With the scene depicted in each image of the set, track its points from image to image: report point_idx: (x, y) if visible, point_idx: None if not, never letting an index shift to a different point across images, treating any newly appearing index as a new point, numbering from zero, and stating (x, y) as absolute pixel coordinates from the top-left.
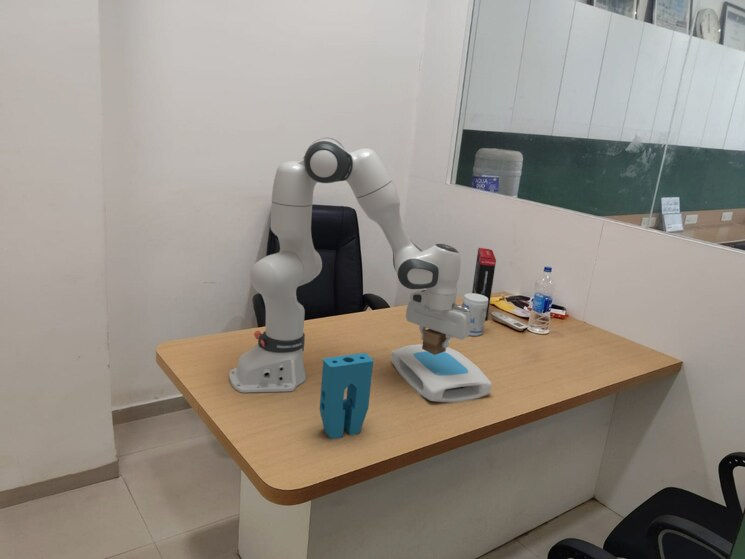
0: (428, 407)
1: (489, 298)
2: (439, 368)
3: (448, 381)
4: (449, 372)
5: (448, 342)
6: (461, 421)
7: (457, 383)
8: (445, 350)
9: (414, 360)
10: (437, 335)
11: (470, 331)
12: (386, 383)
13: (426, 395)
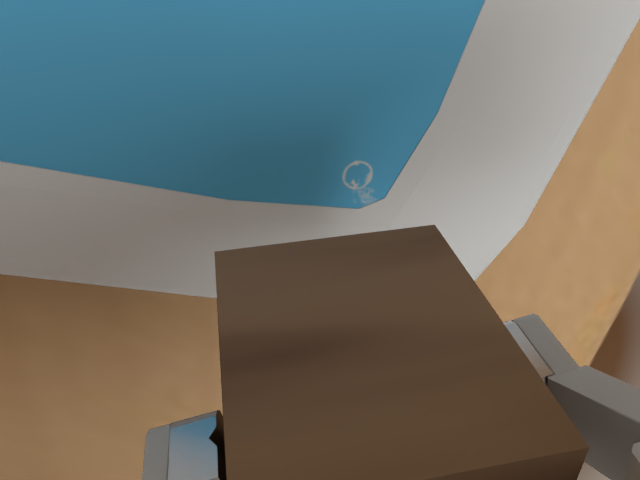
0: None
1: None
2: (296, 97)
3: (496, 197)
4: (403, 68)
5: (569, 361)
6: (607, 211)
7: (556, 154)
8: (440, 237)
9: (66, 216)
10: None
11: None
12: (108, 324)
13: None
